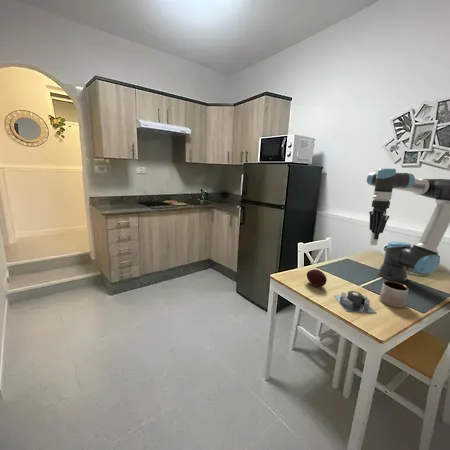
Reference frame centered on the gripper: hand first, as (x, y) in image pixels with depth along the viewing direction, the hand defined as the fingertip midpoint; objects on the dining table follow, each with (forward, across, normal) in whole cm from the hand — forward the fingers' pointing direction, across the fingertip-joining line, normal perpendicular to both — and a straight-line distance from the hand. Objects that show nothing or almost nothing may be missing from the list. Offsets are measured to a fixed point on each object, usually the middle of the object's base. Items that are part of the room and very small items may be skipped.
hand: (373, 244), depth 125 cm
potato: (+27, -4, -26) cm, 37 cm away
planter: (+28, +11, +8) cm, 31 cm away
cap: (+26, +14, -14) cm, 33 cm away
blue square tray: (+27, +14, -13) cm, 33 cm away
